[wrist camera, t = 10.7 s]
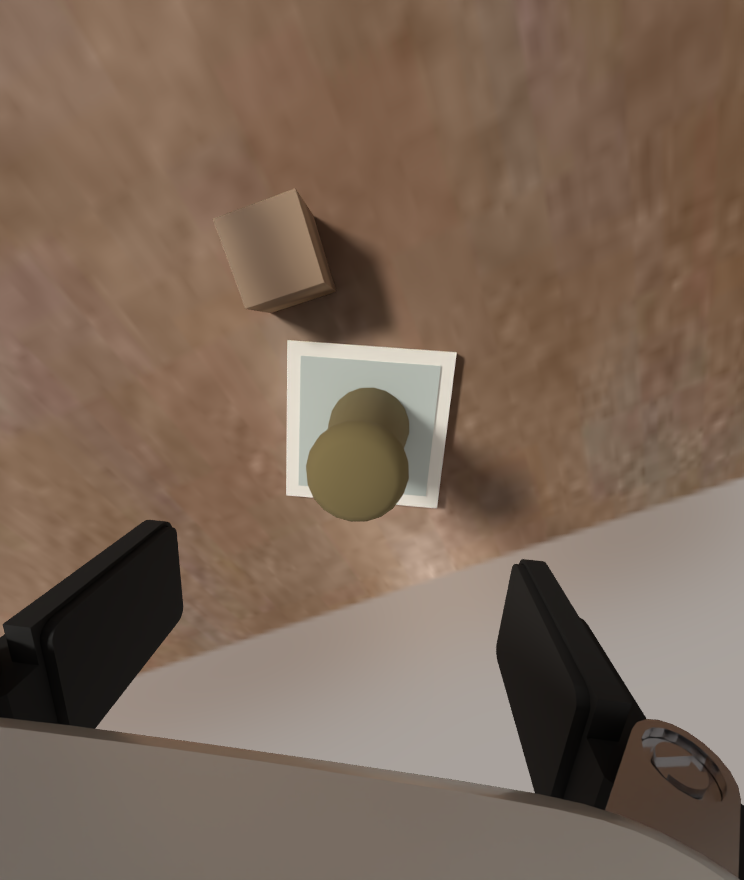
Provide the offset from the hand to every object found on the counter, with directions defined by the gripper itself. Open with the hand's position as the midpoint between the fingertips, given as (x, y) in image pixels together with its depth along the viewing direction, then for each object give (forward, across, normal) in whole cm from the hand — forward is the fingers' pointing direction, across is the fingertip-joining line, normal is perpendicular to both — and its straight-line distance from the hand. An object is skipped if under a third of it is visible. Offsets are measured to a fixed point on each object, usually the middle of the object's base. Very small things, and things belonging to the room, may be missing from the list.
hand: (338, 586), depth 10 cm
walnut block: (+19, +7, -11) cm, 23 cm away
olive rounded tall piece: (+19, +1, 0) cm, 19 cm away
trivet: (+19, +1, 0) cm, 19 cm away
